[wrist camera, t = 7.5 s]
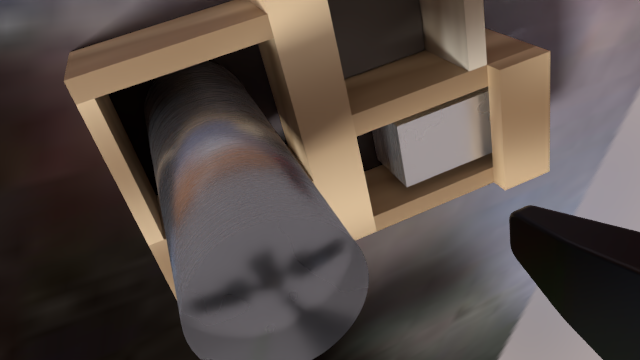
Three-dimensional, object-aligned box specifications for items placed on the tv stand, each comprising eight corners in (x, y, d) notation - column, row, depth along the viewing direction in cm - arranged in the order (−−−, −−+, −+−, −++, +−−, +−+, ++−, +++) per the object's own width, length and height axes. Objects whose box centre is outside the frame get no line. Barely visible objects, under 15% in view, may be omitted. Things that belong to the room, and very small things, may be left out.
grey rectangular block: (501, 109, 23) (542, 131, 21) (377, 158, 22) (406, 187, 20) (498, 52, 22) (542, 70, 20) (366, 102, 21) (396, 126, 19)
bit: (260, 138, 20) (381, 328, 11) (167, 172, 19) (219, 402, 11) (231, 46, 18) (349, 188, 9) (126, 81, 17) (148, 269, 9)
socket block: (491, 135, 24) (549, 171, 21) (173, 263, 21) (185, 326, 18) (477, -113, 18) (551, -114, 15) (52, 17, 16) (40, 46, 13)
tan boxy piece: (440, 44, 21) (486, 64, 18) (320, 87, 20) (352, 115, 17) (426, -97, 18) (477, -96, 16) (286, -55, 17) (317, -46, 15)
